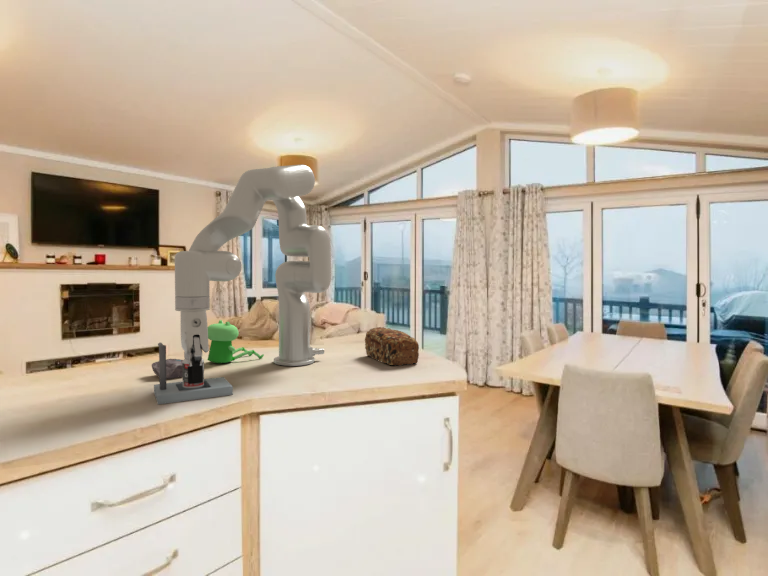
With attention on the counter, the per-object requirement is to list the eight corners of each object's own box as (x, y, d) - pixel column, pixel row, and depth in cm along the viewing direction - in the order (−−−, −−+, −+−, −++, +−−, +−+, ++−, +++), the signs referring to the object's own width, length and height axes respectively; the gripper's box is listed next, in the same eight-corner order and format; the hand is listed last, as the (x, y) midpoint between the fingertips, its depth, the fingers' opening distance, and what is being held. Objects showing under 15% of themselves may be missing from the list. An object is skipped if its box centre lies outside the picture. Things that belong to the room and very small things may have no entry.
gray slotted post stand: (223, 384, 120) (222, 337, 119) (232, 394, 111) (232, 344, 110) (153, 392, 112) (153, 342, 111) (158, 404, 103) (157, 350, 102)
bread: (364, 356, 158) (364, 327, 158) (391, 353, 163) (392, 325, 163) (390, 367, 142) (390, 335, 141) (420, 364, 147) (420, 333, 146)
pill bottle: (182, 389, 108) (182, 353, 107) (182, 384, 112) (182, 350, 112) (204, 387, 110) (204, 352, 109) (203, 382, 114) (203, 348, 114)
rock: (202, 375, 129) (202, 359, 129) (157, 382, 122) (157, 365, 121) (193, 370, 135) (192, 354, 135) (150, 376, 128) (149, 359, 128)
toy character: (265, 362, 151) (268, 322, 151) (212, 366, 138) (215, 322, 138) (250, 357, 157) (252, 319, 157) (197, 361, 144) (200, 319, 144)
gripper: (216, 306, 105) (217, 386, 106) (203, 300, 119) (203, 371, 120) (180, 307, 101) (181, 391, 102) (170, 301, 115) (171, 374, 116)
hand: (193, 379), depth 111 cm, fingers closed on pill bottle, 4 cm apart
